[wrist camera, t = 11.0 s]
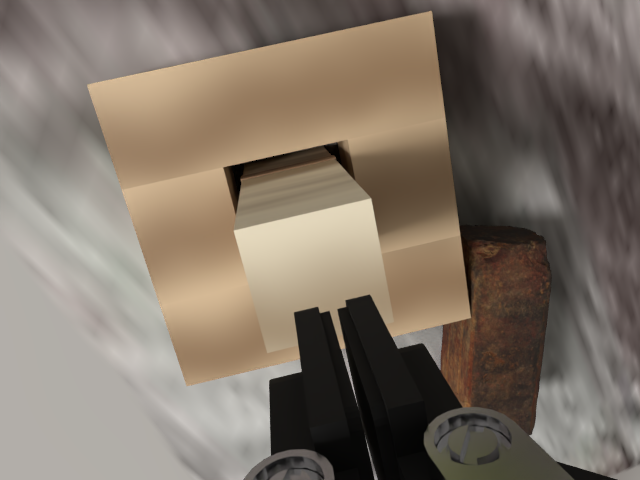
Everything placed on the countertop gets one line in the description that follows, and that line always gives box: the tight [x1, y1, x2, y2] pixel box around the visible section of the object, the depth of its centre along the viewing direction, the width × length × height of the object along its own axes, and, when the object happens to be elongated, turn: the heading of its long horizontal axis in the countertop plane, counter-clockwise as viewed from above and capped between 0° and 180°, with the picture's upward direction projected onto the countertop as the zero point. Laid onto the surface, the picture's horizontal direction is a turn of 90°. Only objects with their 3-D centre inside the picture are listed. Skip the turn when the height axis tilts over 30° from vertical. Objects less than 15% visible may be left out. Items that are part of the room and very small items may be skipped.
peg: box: [234, 146, 394, 353], centre depth 21 cm, size 4×4×12 cm
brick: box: [440, 225, 551, 435], centre depth 28 cm, size 11×4×5 cm, turn 1°
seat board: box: [87, 11, 471, 386], centre depth 25 cm, size 14×14×4 cm
